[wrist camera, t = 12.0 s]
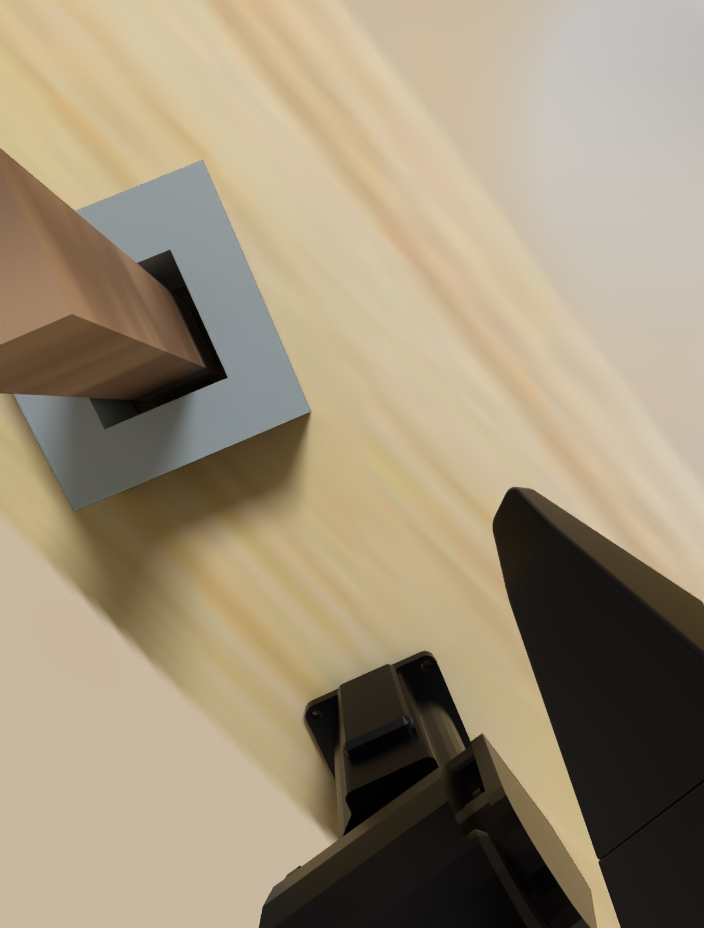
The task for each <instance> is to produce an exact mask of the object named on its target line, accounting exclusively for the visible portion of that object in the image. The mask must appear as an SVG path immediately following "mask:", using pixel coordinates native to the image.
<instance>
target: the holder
mask: <svg viewBox="0 0 704 928" xmlns="http://www.w3.org/2000/svg"><path fill="white" fill-rule="evenodd" d="M75 212H77V213H78V214H79V215H80V216H81V217H83V218H84V219H85V220H86V221H87V222H89V223H90V224H91V225H92V226H93V227H94V228H96V229H97V230H98V231H99V232H100V233H102V234H103V235H104V236H105V237H106V238H107V239H109V240H110V241H111V242H112V243H113V244H115V245H116V246H117V247H118V248H119V249H121V250H122V251H123V252H124V253H125V254H126V255H128V256H129V257H130V258H131V259H132V260H134V261H135V262H136V263H137V264H138V265H140V266H141V267H142V268H143V269H144V270H145V271H147V272H148V273H149V274H150V275H151V276H153V277H154V278H155V279H156V280H157V281H159V282H160V283H161V284H162V285H163V286H164V287H166V288H167V289H168V290H169V291H170V292H171V291H173V290H176V289H178V288H181V287H183V286H185V285H186V286H187V288H188V290H189V292H190V294H191V297H192V299H193V301H194V303H195V305H196V308H197V310H198V312H199V314H200V317H201V319H202V321H203V323H204V325H205V328H206V330H207V332H208V334H209V337H210V339H211V341H212V343H213V345H214V348H215V350H216V352H217V354H218V357H219V359H220V361H221V363H222V365H223V368H224V370H225V372H226V374H227V377H228V378H226V379H223V380H221V381H219V382H216V383H214V384H211V385H209V386H207V387H204V388H202V389H200V390H197V391H195V392H192V393H190V394H188V395H185V396H183V397H180V398H178V399H176V400H173V401H171V402H169V403H166V404H164V405H161V406H159V407H157V408H154V409H152V410H150V411H147V412H145V413H142V414H140V415H138V413H137V411H136V409H135V407H134V405H133V403H132V400H120V399H101V398H82V397H63V396H44V395H24V394H14V396H15V398H16V400H17V402H18V404H19V406H20V408H21V410H22V412H23V414H24V416H25V418H26V420H27V421H28V423H29V425H30V427H31V429H32V431H33V433H34V435H35V437H36V439H37V441H38V443H39V445H40V447H41V449H42V451H43V452H44V454H45V456H46V458H47V460H48V462H49V464H50V466H51V468H52V470H53V472H54V474H55V476H56V478H57V480H58V482H59V484H60V485H61V487H62V489H63V491H64V493H65V495H66V497H67V499H68V501H69V503H70V505H71V507H72V509H73V511H74V512H76V511H78V510H80V509H83V508H85V507H87V506H90V505H92V504H94V503H97V502H99V501H101V500H104V499H106V498H109V497H111V496H113V495H116V494H118V493H120V492H123V491H125V490H127V489H130V488H132V487H134V486H137V485H139V484H142V483H144V482H146V481H149V480H151V479H153V478H156V477H158V476H160V475H163V474H165V473H167V472H170V471H172V470H174V469H177V468H179V467H182V466H184V465H186V464H189V463H191V462H193V461H196V460H198V459H200V458H203V457H205V456H207V455H210V454H212V453H215V452H217V451H219V450H222V449H224V448H226V447H229V446H231V445H233V444H236V443H238V442H240V441H243V440H245V439H247V438H250V437H252V436H255V435H257V434H259V433H262V432H264V431H266V430H269V429H271V428H273V427H276V426H278V425H280V424H283V423H285V422H287V421H290V420H292V419H295V418H297V417H299V416H302V415H304V414H306V413H309V412H311V410H310V407H309V405H308V403H307V400H306V398H305V396H304V393H303V391H302V389H301V386H300V384H299V382H298V379H297V377H296V375H295V372H294V370H293V368H292V365H291V363H290V361H289V358H288V356H287V354H286V351H285V349H284V347H283V344H282V342H281V340H280V338H279V335H278V333H277V331H276V328H275V326H274V324H273V321H272V319H271V317H270V314H269V312H268V310H267V307H266V305H265V303H264V300H263V298H262V296H261V293H260V291H259V289H258V286H257V284H256V282H255V279H254V277H253V275H252V272H251V270H250V268H249V265H248V263H247V261H246V258H245V256H244V254H243V251H242V249H241V247H240V244H239V242H238V240H237V238H236V235H235V233H234V231H233V228H232V226H231V224H230V221H229V219H228V217H227V214H226V212H225V210H224V207H223V205H222V203H221V200H220V198H219V196H218V193H217V191H216V189H215V186H214V184H213V182H212V179H211V177H210V175H209V172H208V170H207V168H206V165H205V163H204V161H203V160H201V161H198V162H196V163H193V164H191V165H188V166H186V167H183V168H181V169H178V170H176V171H173V172H171V173H168V174H166V175H163V176H161V177H159V178H156V179H154V180H151V181H149V182H146V183H144V184H141V185H139V186H136V187H134V188H131V189H129V190H126V191H124V192H121V193H119V194H116V195H114V196H111V197H109V198H106V199H104V200H101V201H99V202H96V203H94V204H91V205H89V206H86V207H84V208H81V209H79V210H76V211H75Z"/></svg>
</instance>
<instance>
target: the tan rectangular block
mask: <svg viewBox="0 0 704 928" xmlns="http://www.w3.org/2000/svg"><path fill="white" fill-rule="evenodd" d="M218 373H219V372H218V369H217V367H216V365H215V363H214V361H213V359H212V357H211V354H210V352H209V350H208V348H207V346H206V344H205V342H204V340H203V337H202V335H201V333H200V331H199V329H198V327H197V325H196V323H195V320H194V318H193V316H192V314H191V312H190V310H189V308H188V306H187V305H186V304H185V303H183V302H182V301H181V300H180V299H179V298H178V297H176V296H175V295H174V294H173V293H172V292H170V291H169V290H168V289H167V288H166V287H164V286H163V285H162V284H161V283H160V282H159V281H157V280H156V279H155V278H154V277H153V276H151V275H150V274H149V273H148V272H147V271H145V270H144V269H143V268H142V267H141V266H140V265H138V264H137V263H136V262H135V261H134V260H132V259H131V258H130V257H129V256H128V255H126V254H125V253H124V252H123V251H122V250H121V249H119V248H118V247H117V246H116V245H115V244H113V243H112V242H111V241H110V240H109V239H107V238H106V237H105V236H104V235H103V234H102V233H100V232H99V231H98V230H97V229H96V228H94V227H93V226H92V225H91V224H90V223H89V222H87V221H86V220H85V219H84V218H83V217H81V216H80V215H79V214H78V213H77V212H75V211H74V210H73V209H72V208H71V207H70V206H68V205H67V204H66V203H65V202H64V201H62V200H61V199H60V198H59V197H58V196H56V195H55V194H54V193H53V192H52V191H51V190H49V189H48V188H47V187H46V186H45V185H43V184H42V183H41V182H40V181H39V180H37V179H36V178H35V177H34V176H33V175H32V174H30V173H29V172H28V171H27V170H26V169H24V168H23V167H22V166H21V165H20V164H18V163H17V162H16V161H15V160H14V159H13V158H11V157H10V156H9V155H8V154H7V153H5V152H4V151H3V150H2V149H1V148H0V393H5V394H24V395H44V396H63V397H82V398H101V399H120V400H140V401H156V400H158V399H160V398H163V397H165V396H167V395H170V394H172V393H174V392H177V391H179V390H181V389H183V388H186V387H188V386H190V385H193V384H195V383H197V382H199V381H202V380H204V379H206V378H209V377H211V376H213V375H215V374H218Z"/></svg>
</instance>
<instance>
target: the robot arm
mask: <svg viewBox="0 0 704 928" xmlns="http://www.w3.org/2000/svg"><path fill="white" fill-rule="evenodd" d="M493 534H494V538H495V543H496V547H497V551H498V556H499V560H500V565H501V569H502V574H503V578H504V582H505V587H506V591H507V594H508V598H509V601H510V605H511V608H512V611H513V614H514V617H515V620H516V623H517V625H518V628H519V631H520V634H521V637H522V640H523V643H524V646H525V649H526V652H527V655H528V658H529V660H530V663H531V666H532V669H533V672H534V675H535V678H536V681H537V684H538V687H539V690H540V693H541V695H542V698H543V701H544V704H545V707H546V710H547V713H548V716H549V719H550V722H551V725H552V727H553V730H554V733H555V736H556V739H557V742H558V745H559V748H560V751H561V754H562V757H563V760H564V762H565V765H566V768H567V771H568V774H569V777H570V780H571V783H572V786H573V789H574V792H575V795H576V797H577V800H578V803H579V806H580V809H581V812H582V815H583V818H584V821H585V824H586V827H587V829H588V832H589V835H590V838H591V841H592V844H593V847H594V850H595V853H596V856H597V858H598V859H600V860H599V865H600V868H601V871H602V874H603V877H604V880H605V883H606V886H607V889H608V892H609V895H610V897H611V900H612V903H613V906H614V909H615V912H616V915H617V918H618V921H619V924H620V927H621V928H704V604H703V602H702V601H701V600H699V599H698V598H696V597H694V596H693V595H691V594H690V593H688V592H687V591H685V590H684V589H682V588H681V587H679V586H678V585H676V584H675V583H673V582H672V581H670V580H669V579H667V578H666V577H664V576H663V575H661V574H660V573H658V572H657V571H655V570H654V569H652V568H651V567H649V566H648V565H646V564H645V563H643V562H642V561H640V560H639V559H637V558H636V557H634V556H633V555H631V554H630V553H628V552H627V551H625V550H624V549H622V548H621V547H619V546H617V545H616V544H614V543H613V542H611V541H610V540H608V539H607V538H605V537H604V536H602V535H601V534H599V533H598V532H596V531H595V530H593V529H592V528H590V527H589V526H587V525H586V524H584V523H583V522H581V521H580V520H578V519H577V518H575V517H574V516H572V515H571V514H569V513H568V512H566V511H565V510H563V509H562V508H560V507H559V506H557V505H556V504H554V503H553V502H551V501H550V500H548V499H547V498H545V497H543V496H542V495H540V494H539V493H537V492H536V491H534V490H533V489H530V488H521V487H512V488H510V489H509V490H508V491H507V492H506V494H505V496H504V498H503V500H502V502H501V504H500V507H499V509H498V511H497V513H496V515H495V517H494V520H493ZM426 660H428V661H430V663H429V664H428V665H427V666H421V664H422V662H424V661H426ZM314 710H320V711H321V713H320V714H318V715H315V714H313V713H312V711H314ZM306 720H307V722H308V724H309V726H310V728H311V730H312V732H313V734H314V736H315V739H316V741H317V743H318V745H319V747H320V749H321V751H322V753H323V755H324V758H325V760H326V762H327V764H328V766H329V768H330V770H331V772H332V774H333V776H334V779H335V781H336V795H337V810H338V824H339V840H338V841H336V842H335V843H334V844H332V845H331V846H329V847H328V848H327V849H326V850H324V851H323V852H321V853H320V854H318V855H317V856H316V857H315V858H313V859H312V860H310V861H309V862H308V863H306V864H305V865H303V866H302V867H301V866H299V867H297V868H296V869H295V870H293V871H292V872H290V873H289V874H288V875H287V876H286V878H285V879H284V880H283V881H281V882H280V883H278V884H277V885H276V886H274V887H273V889H272V891H271V893H270V894H269V896H268V898H267V900H266V902H265V904H264V906H263V908H262V914H261V919H260V924H259V928H597V925H596V919H595V913H594V907H593V900H592V894H591V890H590V888H589V886H588V884H587V882H586V881H585V879H584V878H583V876H582V874H581V873H580V871H579V869H578V868H577V866H576V865H575V863H574V861H573V860H572V858H571V857H570V855H569V853H568V852H567V850H566V848H565V847H564V845H563V844H562V842H561V840H560V839H559V837H558V835H557V834H556V832H555V831H554V829H553V827H552V826H551V824H550V823H549V821H548V820H547V819H546V817H545V816H544V815H543V813H542V812H541V811H540V809H539V808H538V807H537V805H536V804H535V803H534V801H533V800H532V799H531V797H530V796H529V795H528V793H527V792H526V791H525V789H524V788H523V787H522V785H521V784H520V782H519V781H518V780H517V778H516V777H515V776H514V774H513V773H512V772H511V770H510V769H509V768H508V766H507V765H506V764H505V762H504V761H503V760H502V758H501V757H500V756H499V754H498V753H497V752H496V750H495V749H494V748H493V746H492V745H491V744H490V742H489V741H488V740H487V738H486V737H485V736H484V734H483V733H482V734H481V735H479V736H478V737H476V738H475V739H474V740H472V741H471V742H470V739H469V737H468V734H467V732H466V730H465V727H464V725H463V723H462V720H461V718H460V716H459V713H458V711H457V709H456V706H455V704H454V702H453V699H452V697H451V694H450V692H449V690H448V687H447V685H446V683H445V680H444V678H443V676H442V673H441V671H440V669H439V666H438V664H437V661H436V659H435V657H434V656H433V654H432V653H430V652H428V651H423V652H420V653H417V654H415V655H413V656H411V657H408V658H406V659H404V660H402V661H399V662H397V663H395V664H393V665H389V664H386V665H384V666H382V667H380V668H377V669H375V670H373V671H371V672H368V673H366V674H364V675H362V676H359V677H357V678H355V679H353V680H350V681H348V682H346V683H344V684H342V685H340V687H339V689H337V690H334V691H332V692H330V693H328V694H326V695H323V696H321V697H319V698H317V699H314V700H312V701H311V702H309V703H308V705H307V706H306Z"/></svg>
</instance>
